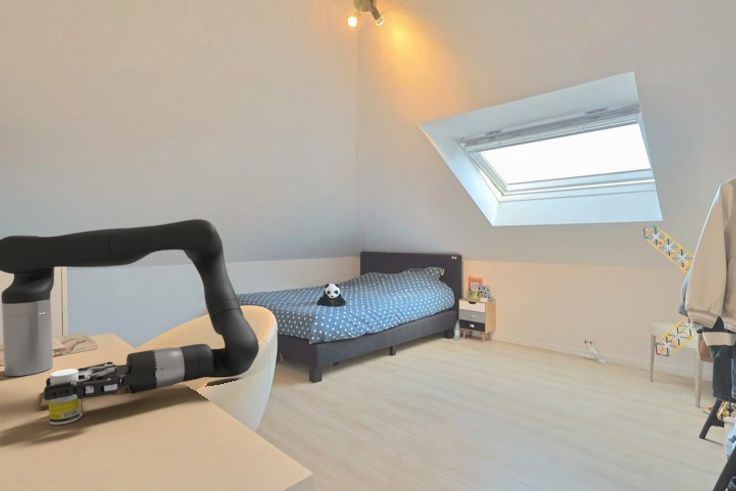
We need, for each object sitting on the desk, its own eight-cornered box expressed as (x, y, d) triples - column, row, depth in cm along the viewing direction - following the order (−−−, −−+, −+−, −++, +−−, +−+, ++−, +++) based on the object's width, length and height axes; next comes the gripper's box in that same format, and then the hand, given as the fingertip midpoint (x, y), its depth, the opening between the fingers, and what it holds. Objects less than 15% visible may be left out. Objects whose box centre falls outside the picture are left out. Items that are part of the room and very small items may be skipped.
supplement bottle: (61, 414, 74) (59, 368, 74) (88, 413, 75) (86, 367, 75) (42, 426, 70) (40, 377, 70) (71, 424, 70) (69, 375, 70)
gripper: (149, 342, 86) (46, 358, 76) (161, 358, 75) (41, 378, 65) (151, 378, 86) (48, 398, 76) (162, 399, 75) (43, 425, 65)
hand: (45, 389), depth 71 cm, fingers closed on supplement bottle, 4 cm apart
